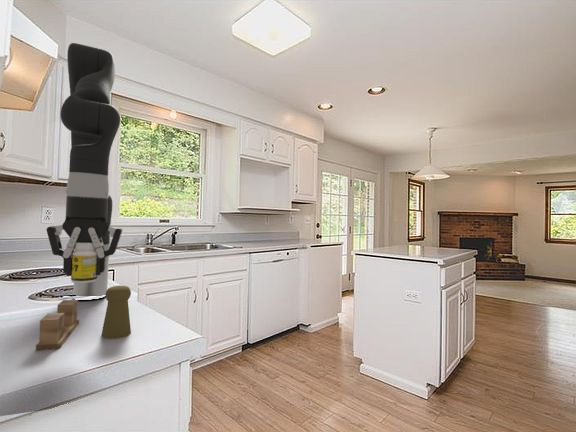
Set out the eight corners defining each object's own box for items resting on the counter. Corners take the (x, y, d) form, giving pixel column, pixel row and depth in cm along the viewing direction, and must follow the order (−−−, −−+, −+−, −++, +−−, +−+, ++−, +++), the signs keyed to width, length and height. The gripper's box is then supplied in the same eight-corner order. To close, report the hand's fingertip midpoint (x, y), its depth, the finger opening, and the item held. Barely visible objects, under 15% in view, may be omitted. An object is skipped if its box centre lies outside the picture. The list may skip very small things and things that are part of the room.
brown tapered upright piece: (118, 340, 70) (120, 290, 70) (94, 336, 71) (97, 288, 71) (136, 330, 76) (138, 285, 76) (114, 327, 77) (117, 282, 77)
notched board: (59, 324, 77) (60, 300, 77) (78, 323, 78) (80, 299, 78) (35, 350, 63) (37, 320, 63) (59, 348, 64) (60, 319, 64)
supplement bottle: (68, 280, 68) (70, 241, 67) (93, 277, 71) (95, 240, 71) (74, 284, 64) (76, 243, 64) (100, 281, 68) (101, 242, 68)
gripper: (127, 198, 74) (123, 270, 74) (53, 193, 68) (49, 271, 69) (123, 197, 67) (119, 278, 67) (41, 192, 61) (37, 279, 62)
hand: (84, 274), depth 68 cm, fingers closed on supplement bottle, 4 cm apart
